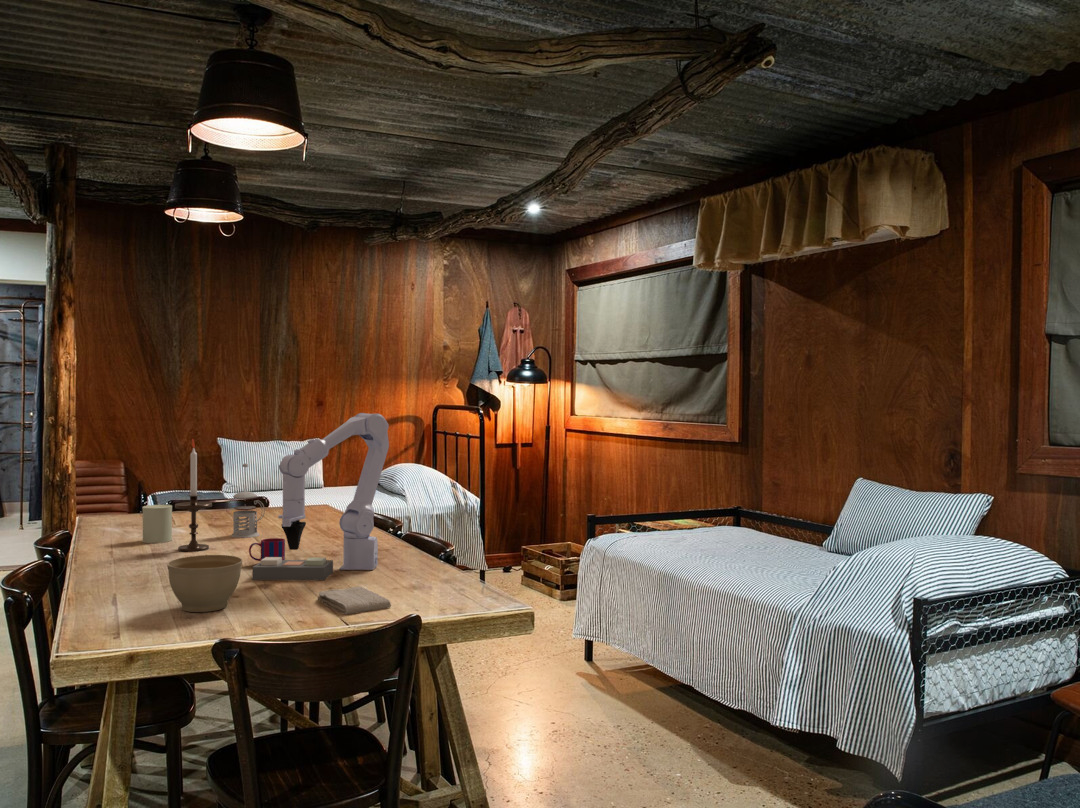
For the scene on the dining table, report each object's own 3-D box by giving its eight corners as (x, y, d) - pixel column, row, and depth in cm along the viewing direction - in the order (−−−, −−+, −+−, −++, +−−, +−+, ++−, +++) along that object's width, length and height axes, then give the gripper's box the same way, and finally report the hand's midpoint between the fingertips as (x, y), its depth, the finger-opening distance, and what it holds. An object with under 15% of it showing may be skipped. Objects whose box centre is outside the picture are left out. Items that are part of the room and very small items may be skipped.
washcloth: (359, 595, 216) (359, 582, 216) (393, 609, 202) (393, 596, 202) (313, 602, 209) (313, 589, 209) (345, 617, 195) (345, 603, 195)
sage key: (325, 565, 238) (325, 557, 238) (321, 568, 233) (321, 560, 233) (309, 565, 238) (309, 557, 238) (305, 568, 233) (305, 560, 233)
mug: (285, 564, 251) (285, 541, 251) (249, 567, 248) (249, 543, 248) (283, 560, 258) (283, 537, 257) (248, 562, 254) (248, 539, 254)
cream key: (281, 565, 238) (281, 557, 238) (277, 568, 233) (277, 560, 233) (265, 565, 238) (265, 557, 238) (260, 568, 233) (260, 560, 233)
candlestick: (195, 553, 268) (195, 439, 267) (167, 551, 271) (167, 438, 271) (219, 547, 278) (219, 438, 278) (191, 545, 281) (191, 437, 281)
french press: (238, 532, 307) (238, 462, 307) (269, 533, 306) (269, 462, 305) (224, 537, 298) (224, 464, 297) (256, 538, 296) (257, 464, 296)
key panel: (333, 572, 241) (333, 560, 241) (324, 580, 231) (324, 567, 231) (264, 572, 241) (264, 559, 241) (252, 579, 231) (252, 567, 231)
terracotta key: (303, 569, 238) (303, 561, 238) (299, 572, 233) (299, 564, 233) (287, 569, 238) (287, 561, 238) (283, 572, 233) (283, 564, 233)
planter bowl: (167, 620, 190) (167, 570, 190) (167, 603, 205) (167, 557, 205) (245, 613, 196) (245, 564, 196) (239, 597, 211) (239, 552, 211)
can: (178, 540, 291) (178, 504, 291) (153, 544, 283) (153, 507, 283) (161, 537, 296) (161, 502, 296) (136, 541, 288) (136, 505, 288)
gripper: (286, 495, 243) (286, 544, 243) (270, 502, 228) (270, 554, 228) (312, 495, 243) (312, 544, 243) (297, 502, 228) (297, 554, 228)
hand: (293, 549), depth 236 cm, fingers closed
